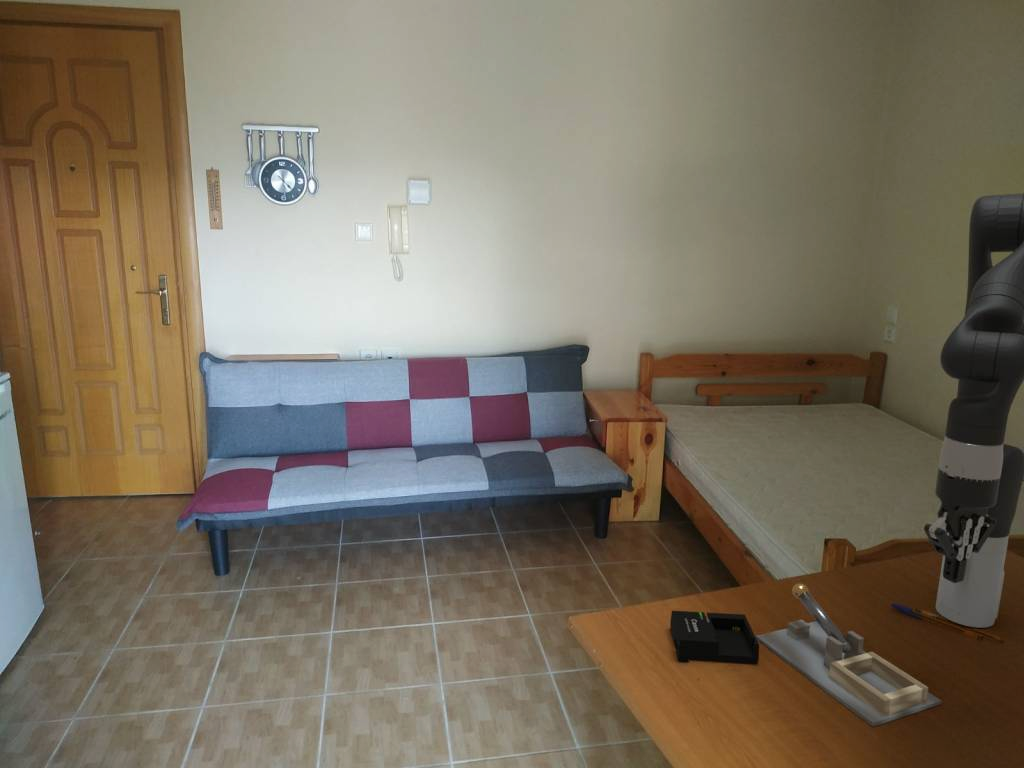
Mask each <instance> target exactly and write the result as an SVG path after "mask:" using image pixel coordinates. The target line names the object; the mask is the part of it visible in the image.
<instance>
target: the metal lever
mask: <svg viewBox="0 0 1024 768" xmlns="http://www.w3.org/2000/svg"><path fill="white" fill-rule="evenodd" d="M791 591H792V595H793V596H794V597H795V598H797V599H798V600H799V601H800V602H801V603H802V605H803V606H804V607H805V608H806V610H807V611H808V612H809V614H810V615H811V616H812V617H813V619H814V620H815V621H817V622H818V624H819V625H820V626H821V627H822V629H823V630H824V631H825V633H826V634H827V635H828V636H829V637H830V636H832V637H834V638H835V639H837V640H838V641H840V642H841V643H843V653H848V652H849V651H850V650H851V644H850V643H849V642H848V640H847V639H846V637H845V635H844V634H843V633H842V631H840V629H839V628H838V627H837V625H836V624H835V623H834V622H833V620H832V619H831V618H830V617H829V615H828V614H827V613H826V612H825V610H824V609H823V608H822V606H820V604H819V603H818V602H817V600H816V599H815V598H814V597H813V596H812V593H810V591H809V588H808V587H807V585H805V584H803V583H796V584H794V586H793V587H792V590H791Z"/></svg>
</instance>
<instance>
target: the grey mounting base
mask: <svg viewBox="0 0 1024 768" xmlns="http://www.w3.org/2000/svg"><path fill="white" fill-rule="evenodd" d="M755 637H756V639H757V641H758V643H759V644H762V645H763V646H765V647H766V648H767V649H769V650H770V651H771V652H772V653H774V654H775V655H777V656H778V657H779V658H780V659H782V660H783V661H784V662H785V663H787V664H788V665H790V666H791V667H792V668H794V669H795V670H796V671H798V672H799V673H800V674H802V675H803V676H804V677H806V678H807V679H808V680H810V681H811V682H813V683H814V684H815V685H816V686H818V687H819V688H821V689H822V691H824V692H826V693H827V694H828V695H830V696H831V697H832V698H833V699H835V700H836V701H837V702H839V703H840V704H842V705H843V706H845V707H846V708H847V709H848V710H850V711H851V712H852V713H853V714H855V715H856V716H858V717H859V718H860V719H861V720H863V721H864V722H866V723H867V724H868V725H869V726H871V727H872V728H873V727H876V726H880V725H883V724H885V723H889V722H891V721H894V720H898V719H901V718H903V717H906V716H910V715H912V714H916V713H919V712H922V711H925V710H928V709H930V708H934V707H937V706H939V705H942V700H941V699H939V698H938V697H936V696H935V695H933V694H932V693H930V692H929V686H927V685H926V684H924V683H922V682H921V681H919V680H918V679H916V678H914V677H912V675H910V674H908V673H907V672H905V671H903V670H902V669H900V668H898V667H897V666H895V664H892V663H891V662H890V661H888V660H886V659H884V658H883V657H881V656H880V655H878V654H877V653H875V652H873V651H869V652H868V651H867V652H866V651H865V650H864V649H863V648H864V642H865V638H864V637H862V636H861V635H859V634H858V633H857V632H855V631H853V630H850V631H847V632H846V637H845V638H846V639H847V640H848V642H849V643H850V644H851V650H850V651H849V652H848V653H843V643H841V642H840V641H838V640H837V639H835V638H834V637H832V636H830V637H829V636H828V635H827V634H826V633H825V631H824V630H823V629H822V627H821V626H820V625H819V624H818V622H817V621H816V620H815V621H811V622H806V621H805V620H803V619H798V620H794V621H788V623H787V628H783V629H778V630H774V631H770V632H766V633H762V634H759V635H756V636H755Z"/></svg>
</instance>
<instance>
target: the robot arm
mask: <svg viewBox="0 0 1024 768" xmlns="http://www.w3.org/2000/svg"><path fill="white" fill-rule="evenodd" d="M992 253H1010V254H1009V255H1007V256H1006V257H1005V258H1003V259H1002V260H1001V261H999V262H998V263H996V264H995V265H993V261H992ZM967 264H968V268H967V271H968V272H967V291H966V300H965V301H966V303H965V310H964V316H963V318H962V320H961V321H960V322H959V323H958V325H957V326H956V327H955V328H954V329H953V330H952V332H951V333H950V334H949V336H948V337H947V339H946V340H945V342H944V344H943V347H942V348H941V352H940V365H941V368H942V369H943V371H944V372H945V374H946V375H948V376H949V377H950V378H952V379H956V380H958V383H957V384H958V385H957V393H956V397H955V398H954V399H952V400H951V402H950V404H949V407H948V413H947V420H946V426H945V427H946V428H945V432H944V433H945V434H944V439H943V443H942V446H941V449H940V457H939V461H938V467H937V476H936V481H935V482H936V484H935V491H934V493H935V496H936V497H937V498H938V499H939V500H940V502H941V505H940V507H939V509H938V511H937V519H936V520H935V522H934V523H933V524H931V523H926V524H925V525H924V526H923V530H924V533H925V534H926V537H927V539H928V540H929V543H930V544H931V546H932V548H933V551H934V552H935V553H938V554H940V555H942V561H941V568H940V569H941V570H940V576H939V582H938V588H937V595H936V601H935V602H936V603H935V610H936V612H937V613H938V614H940V615H941V616H942V617H943V618H945V619H947V620H949V621H951V622H953V623H956V624H959V625H963V626H965V627H970V628H971V627H972V628H977V629H978V628H981V629H983V628H989V627H992V626H993V625H995V622H996V619H998V615H999V609H1000V603H1001V597H1002V591H1003V586H1004V585H1003V584H1004V581H1005V574H1006V572H1005V570H1004V568H1005V561H1006V556H1007V550H1008V544H1009V538H1010V532H1011V527H1012V524H1013V522H1014V518H1015V517H1016V512H1017V507H1018V503H1019V497H1020V493H1021V490H1022V485H1023V482H1024V451H1023V450H1022V449H1021V448H1019V447H1016V446H1015V445H1009V444H1006V443H1005V437H1006V436H1005V435H1006V430H1007V424H1008V419H1009V414H1010V410H1011V408H1012V405H1013V402H1014V400H1015V398H1016V395H1017V393H1018V391H1019V389H1020V388H1021V386H1022V384H1023V382H1024V193H1011V194H1010V193H1009V194H1008V193H1007V194H992V195H989V194H988V195H984V196H980V197H978V198H977V199H976V201H975V202H974V203H973V206H972V208H971V213H970V219H969V231H968V263H967Z"/></svg>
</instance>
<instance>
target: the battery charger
mask: <svg viewBox="0 0 1024 768" xmlns="http://www.w3.org/2000/svg"><path fill="white" fill-rule="evenodd" d="M669 621H670V622H669V624H670V626H669V627H670V633H671V637H672V639H673V644H674V647H675V653H676V657H677V660H678V662H680V663H690V661H693V662H694V661H695V662H710V663H725V664H738V665H739V664H743V665H754V666H755V665H758V663H759V659H760V642H759V641H758V640H757V639H756V636H755V632H754V631H753V629H752V627H751V624H750V622H749V621H748V618H747V615H746V614H743V613H742V614H741V613H739V614H738V613H723V612H706V611H704V612H702V611H689V610H688V611H687V610H672V611H671V615H670V620H669Z"/></svg>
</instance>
